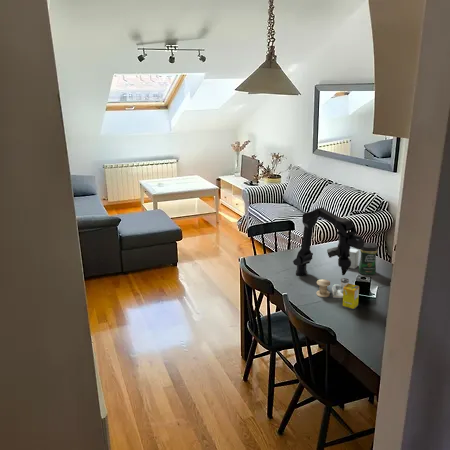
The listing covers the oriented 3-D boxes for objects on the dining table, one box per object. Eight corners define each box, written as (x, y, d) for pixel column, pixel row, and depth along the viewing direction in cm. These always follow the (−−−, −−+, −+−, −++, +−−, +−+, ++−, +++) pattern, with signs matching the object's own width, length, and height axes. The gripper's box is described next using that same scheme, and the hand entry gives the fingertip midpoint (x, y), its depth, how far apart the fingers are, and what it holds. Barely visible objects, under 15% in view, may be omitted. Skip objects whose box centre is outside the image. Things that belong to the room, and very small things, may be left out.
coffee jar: (359, 275, 249) (361, 245, 243) (357, 269, 256) (359, 240, 251) (376, 275, 247) (379, 245, 242) (374, 270, 255) (376, 240, 249)
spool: (316, 291, 232) (316, 279, 230) (329, 291, 230) (330, 279, 228) (316, 296, 225) (316, 284, 223) (330, 297, 224) (330, 285, 222)
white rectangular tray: (332, 288, 233) (332, 283, 232) (355, 290, 231) (355, 284, 230) (333, 297, 224) (333, 292, 223) (356, 298, 222) (357, 293, 221)
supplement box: (347, 302, 218) (348, 283, 215) (358, 305, 214) (359, 285, 211) (342, 307, 214) (342, 287, 210) (353, 310, 210) (354, 290, 207)
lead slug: (347, 290, 229) (348, 278, 227) (348, 293, 225) (349, 281, 223) (339, 289, 230) (340, 277, 227) (340, 293, 226) (341, 281, 223)
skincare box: (358, 265, 263) (359, 249, 259) (354, 269, 258) (355, 252, 254) (341, 262, 268) (342, 246, 265) (338, 265, 263) (338, 249, 260)
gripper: (327, 237, 231) (326, 263, 236) (328, 249, 214) (327, 278, 219) (349, 237, 229) (347, 264, 234) (352, 250, 212) (350, 279, 216)
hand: (342, 271), depth 226 cm, fingers open, 9 cm apart
